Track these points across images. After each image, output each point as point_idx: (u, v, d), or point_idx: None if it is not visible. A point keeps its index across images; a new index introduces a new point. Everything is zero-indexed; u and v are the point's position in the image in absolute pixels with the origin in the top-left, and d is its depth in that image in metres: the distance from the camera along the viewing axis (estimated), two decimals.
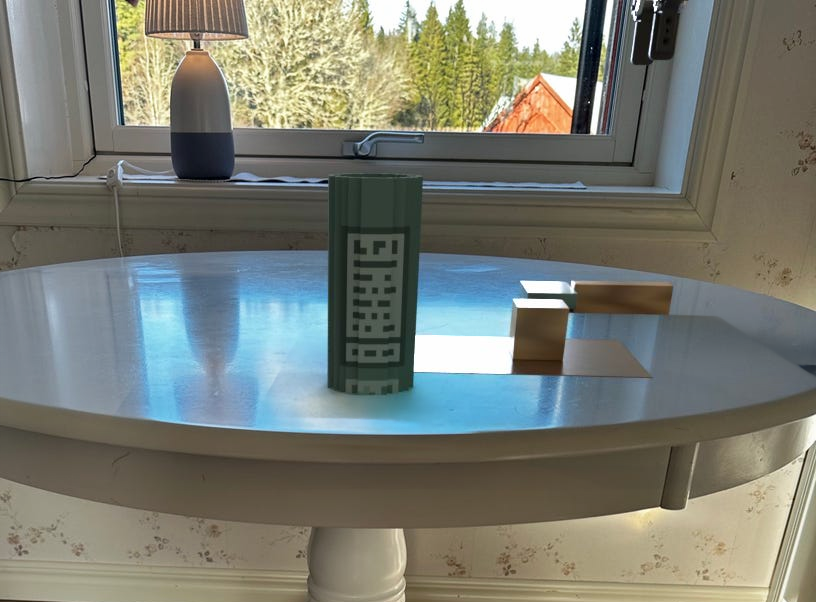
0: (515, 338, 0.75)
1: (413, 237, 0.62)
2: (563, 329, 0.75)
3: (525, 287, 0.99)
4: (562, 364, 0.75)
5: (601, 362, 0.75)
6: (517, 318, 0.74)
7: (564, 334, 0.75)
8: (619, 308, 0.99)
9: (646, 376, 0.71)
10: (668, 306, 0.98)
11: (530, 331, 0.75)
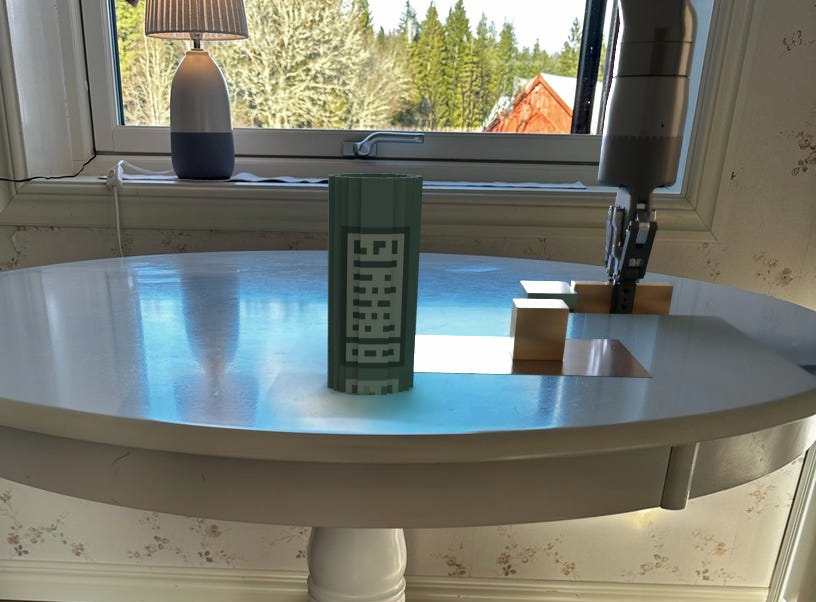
0: (515, 338, 0.75)
1: (413, 237, 0.62)
2: (563, 329, 0.75)
3: (525, 287, 0.99)
4: (562, 364, 0.75)
5: (601, 362, 0.75)
6: (517, 318, 0.74)
7: (564, 334, 0.75)
8: None
9: (646, 376, 0.71)
10: (668, 306, 0.98)
11: (530, 331, 0.75)
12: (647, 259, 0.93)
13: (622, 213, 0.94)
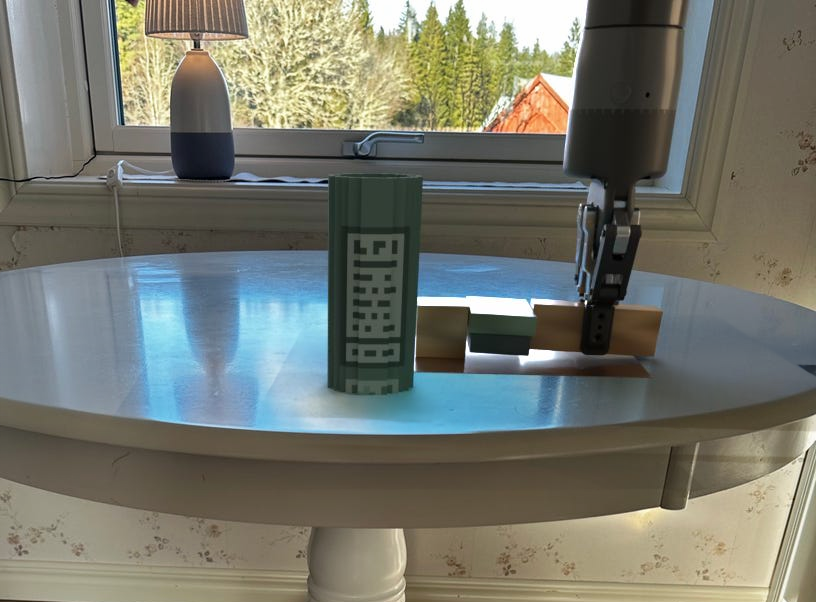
0: (417, 336, 0.76)
1: (413, 237, 0.62)
2: (464, 327, 0.75)
3: (470, 305, 0.75)
4: (562, 364, 0.75)
5: (601, 362, 0.75)
6: (418, 316, 0.75)
7: (465, 332, 0.75)
8: None
9: (646, 376, 0.71)
10: (655, 337, 0.75)
11: (432, 329, 0.75)
12: (628, 275, 0.69)
13: (595, 213, 0.71)
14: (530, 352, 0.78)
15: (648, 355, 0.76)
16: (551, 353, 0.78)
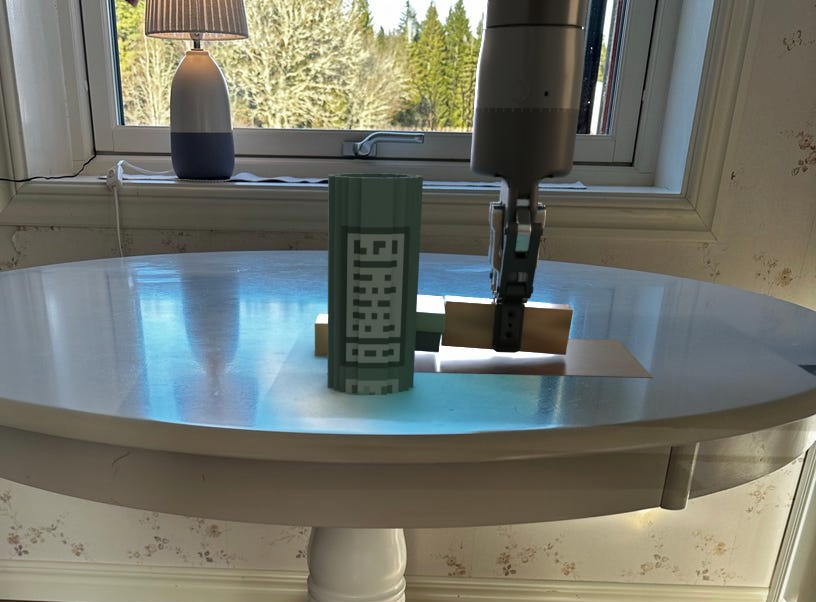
0: None
1: (413, 237, 0.62)
2: None
3: None
4: (562, 364, 0.75)
5: (601, 362, 0.75)
6: None
7: None
8: None
9: (646, 376, 0.71)
10: (566, 336, 0.76)
11: None
12: (533, 273, 0.70)
13: (501, 212, 0.71)
14: None
15: (560, 353, 0.76)
16: None
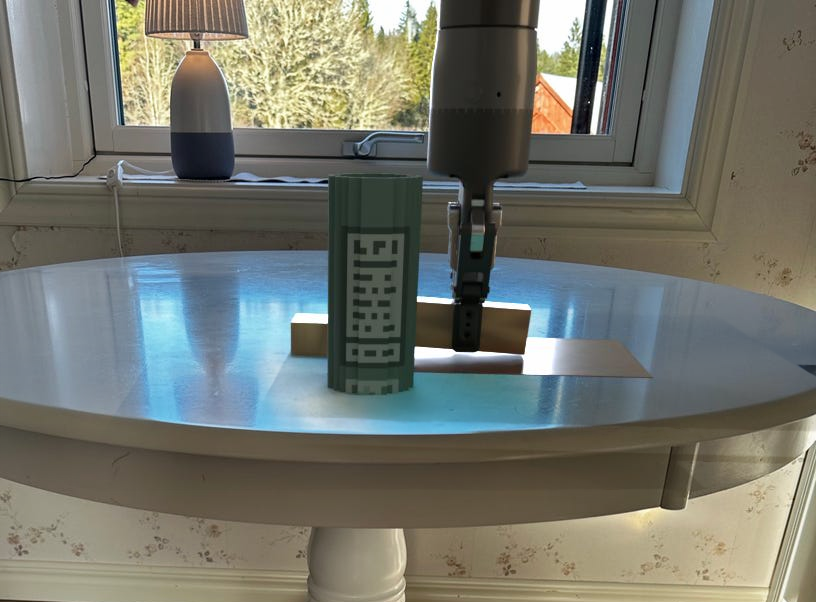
0: None
1: (413, 237, 0.62)
2: (310, 326, 0.76)
3: None
4: (562, 364, 0.75)
5: (601, 362, 0.75)
6: None
7: (315, 324, 0.76)
8: None
9: (646, 376, 0.71)
10: (525, 336, 0.76)
11: None
12: (488, 273, 0.70)
13: (458, 212, 0.71)
14: (530, 352, 0.78)
15: (519, 353, 0.76)
16: (551, 353, 0.78)
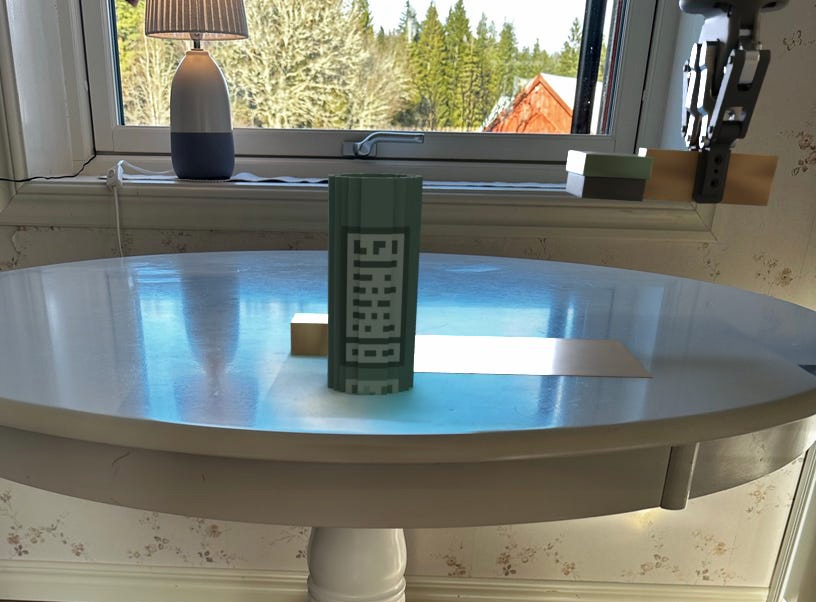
0: None
1: (413, 237, 0.62)
2: (310, 326, 0.76)
3: (579, 152, 0.73)
4: (562, 364, 0.75)
5: (601, 362, 0.75)
6: None
7: (315, 324, 0.76)
8: None
9: (646, 376, 0.71)
10: (769, 185, 0.73)
11: None
12: (752, 107, 0.67)
13: (715, 47, 0.69)
14: (530, 352, 0.78)
15: (761, 204, 0.74)
16: (551, 353, 0.78)
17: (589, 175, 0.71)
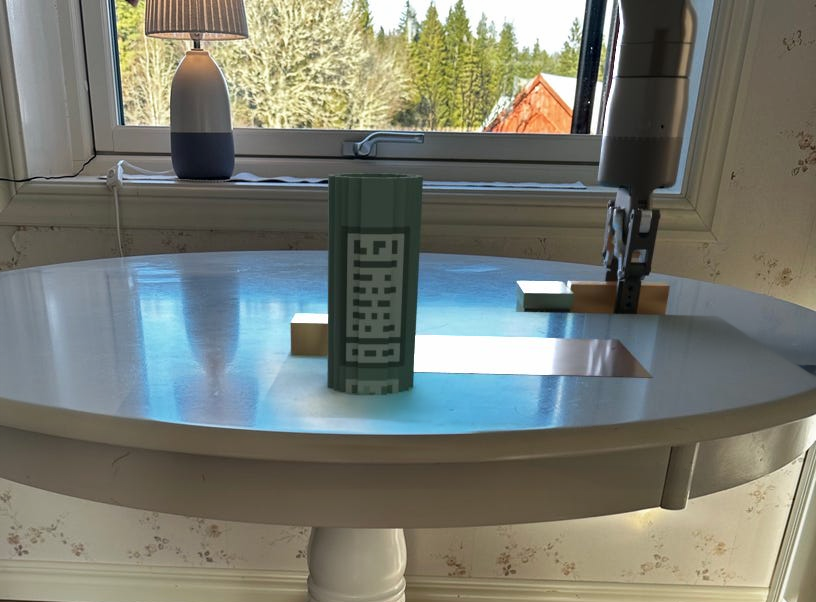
0: None
1: (413, 237, 0.62)
2: (310, 326, 0.76)
3: (521, 287, 0.99)
4: (562, 364, 0.75)
5: (601, 362, 0.75)
6: None
7: (315, 324, 0.76)
8: None
9: (646, 376, 0.71)
10: (664, 306, 0.98)
11: None
12: (652, 250, 0.91)
13: (622, 211, 0.94)
14: (530, 352, 0.78)
15: None
16: (551, 353, 0.78)
17: (527, 307, 0.97)
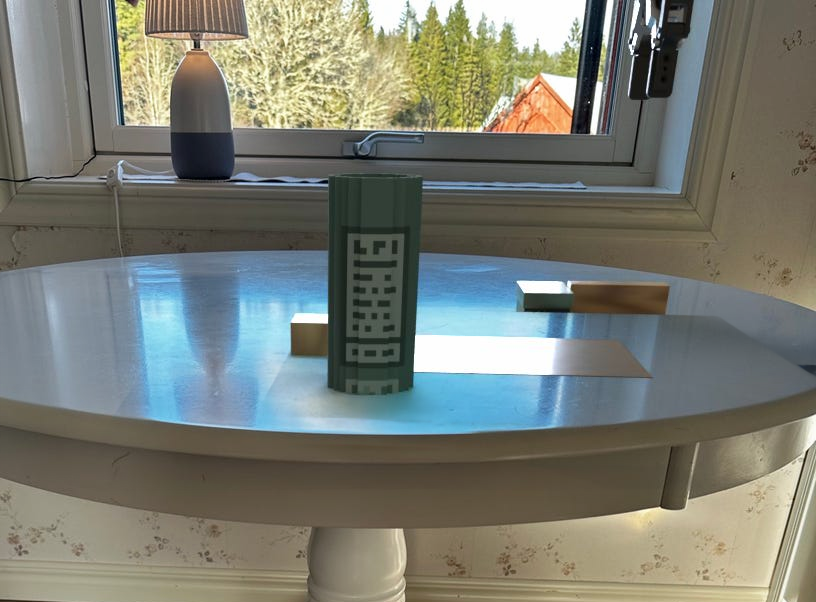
0: None
1: (413, 237, 0.62)
2: (310, 326, 0.76)
3: (521, 287, 0.99)
4: (562, 364, 0.75)
5: (601, 362, 0.75)
6: None
7: (315, 324, 0.76)
8: (616, 308, 0.99)
9: (646, 376, 0.71)
10: (664, 306, 0.98)
11: None
12: (691, 3, 0.81)
13: None
14: (530, 352, 0.78)
15: None
16: (551, 353, 0.78)
17: (527, 307, 0.97)
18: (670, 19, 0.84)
